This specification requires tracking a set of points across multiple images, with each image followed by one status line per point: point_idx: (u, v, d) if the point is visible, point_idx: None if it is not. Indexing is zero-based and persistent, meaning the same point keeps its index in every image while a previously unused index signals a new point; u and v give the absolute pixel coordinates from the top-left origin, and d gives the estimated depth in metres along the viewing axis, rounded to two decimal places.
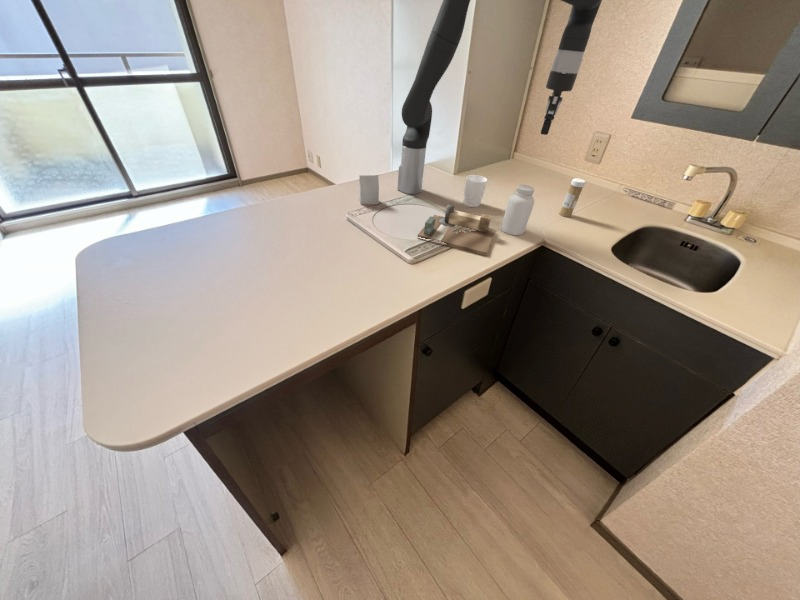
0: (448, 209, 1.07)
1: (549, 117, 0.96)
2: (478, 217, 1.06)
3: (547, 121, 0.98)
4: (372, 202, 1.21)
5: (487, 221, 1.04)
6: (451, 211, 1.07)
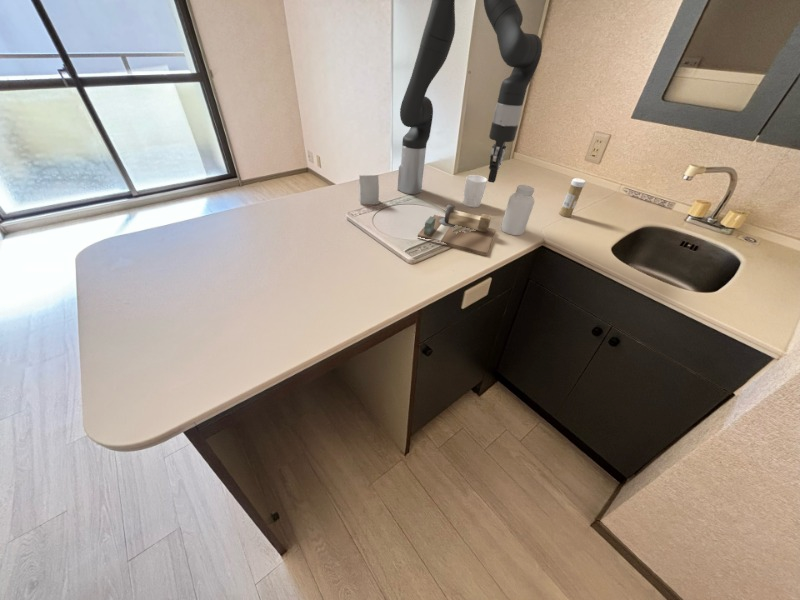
0: (448, 209, 1.07)
1: (493, 169, 1.00)
2: (478, 217, 1.06)
3: (492, 170, 1.02)
4: (372, 202, 1.21)
5: (487, 221, 1.04)
6: (451, 211, 1.07)
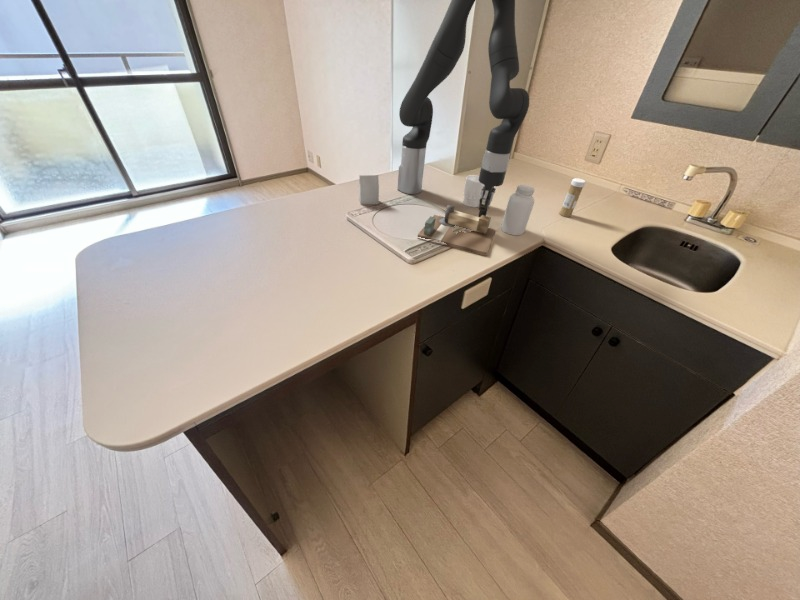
0: (448, 209, 1.07)
1: (482, 210, 1.03)
2: (477, 218, 1.05)
3: (482, 211, 1.05)
4: (372, 202, 1.21)
5: (485, 223, 1.03)
6: (451, 211, 1.07)
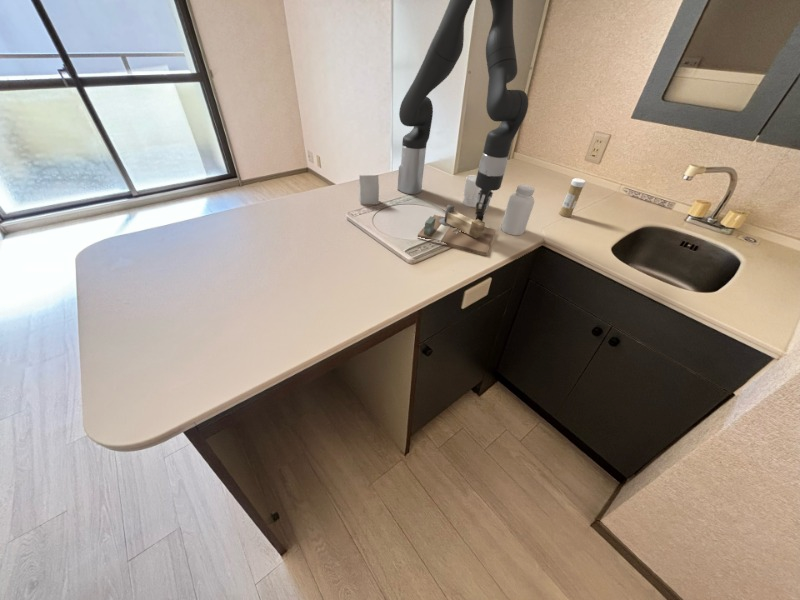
0: (447, 208, 1.07)
1: (479, 214, 1.01)
2: None
3: (479, 215, 1.02)
4: (372, 202, 1.21)
5: (477, 227, 1.00)
6: (449, 211, 1.07)
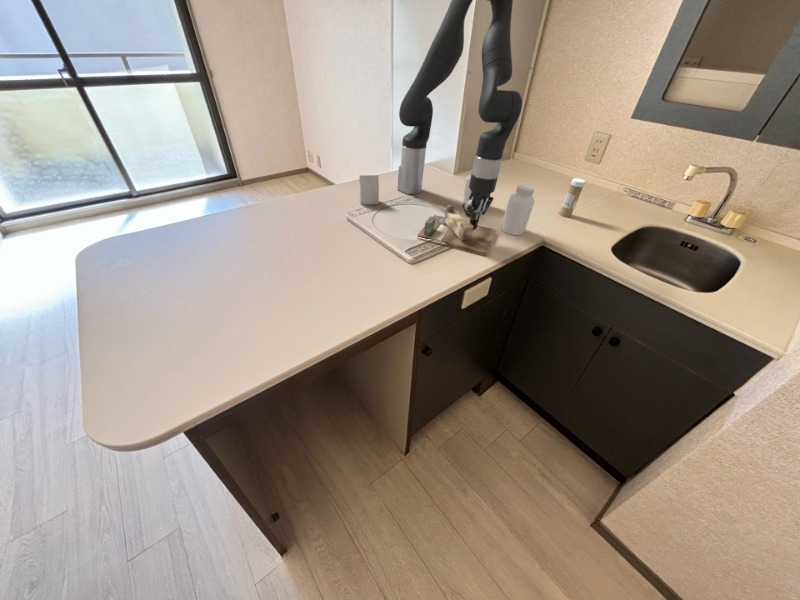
0: (446, 208, 1.07)
1: (469, 217, 0.98)
2: None
3: (471, 218, 1.00)
4: (372, 202, 1.21)
5: (463, 229, 0.98)
6: (448, 211, 1.07)
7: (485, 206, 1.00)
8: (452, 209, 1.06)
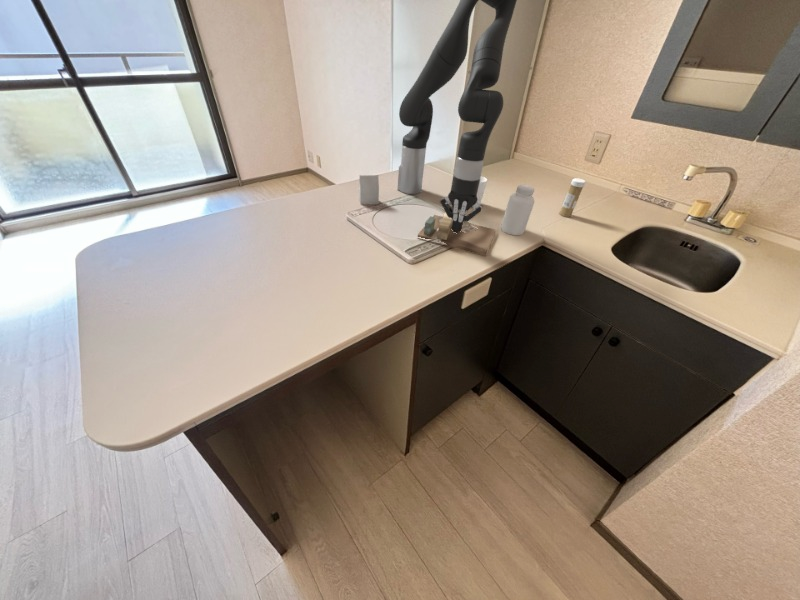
0: None
1: None
2: None
3: None
4: (372, 202, 1.21)
5: (439, 226, 0.99)
6: None
7: (470, 213, 0.95)
8: None
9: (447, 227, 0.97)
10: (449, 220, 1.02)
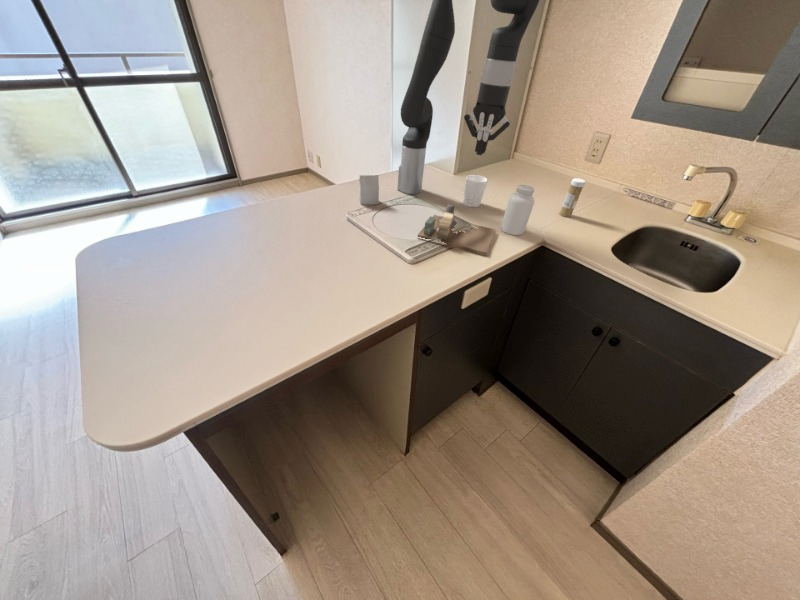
0: None
1: None
2: None
3: None
4: (372, 202, 1.21)
5: None
6: (446, 210, 1.07)
7: None
8: (450, 209, 1.06)
9: (447, 227, 0.97)
10: (449, 220, 1.02)
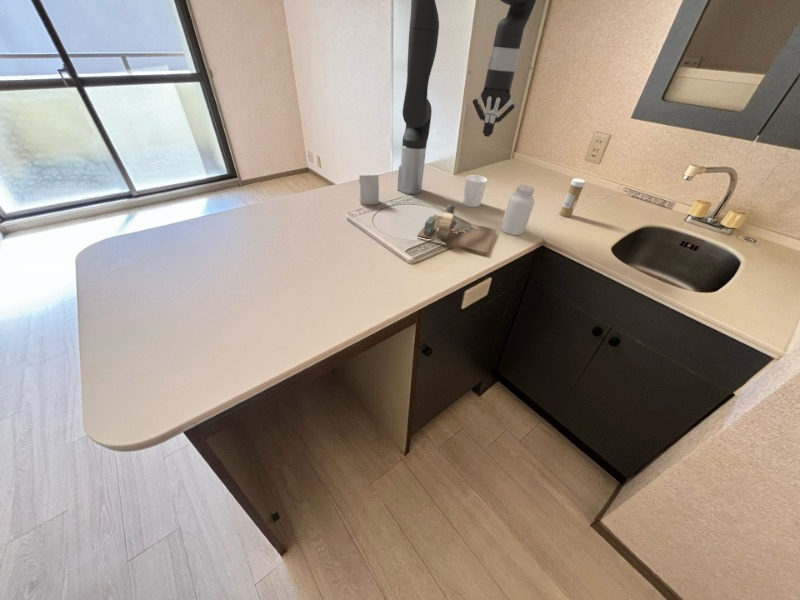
0: None
1: None
2: None
3: None
4: (372, 202, 1.21)
5: None
6: (446, 210, 1.07)
7: (503, 112, 0.96)
8: (450, 209, 1.06)
9: (447, 227, 0.97)
10: (449, 220, 1.02)
